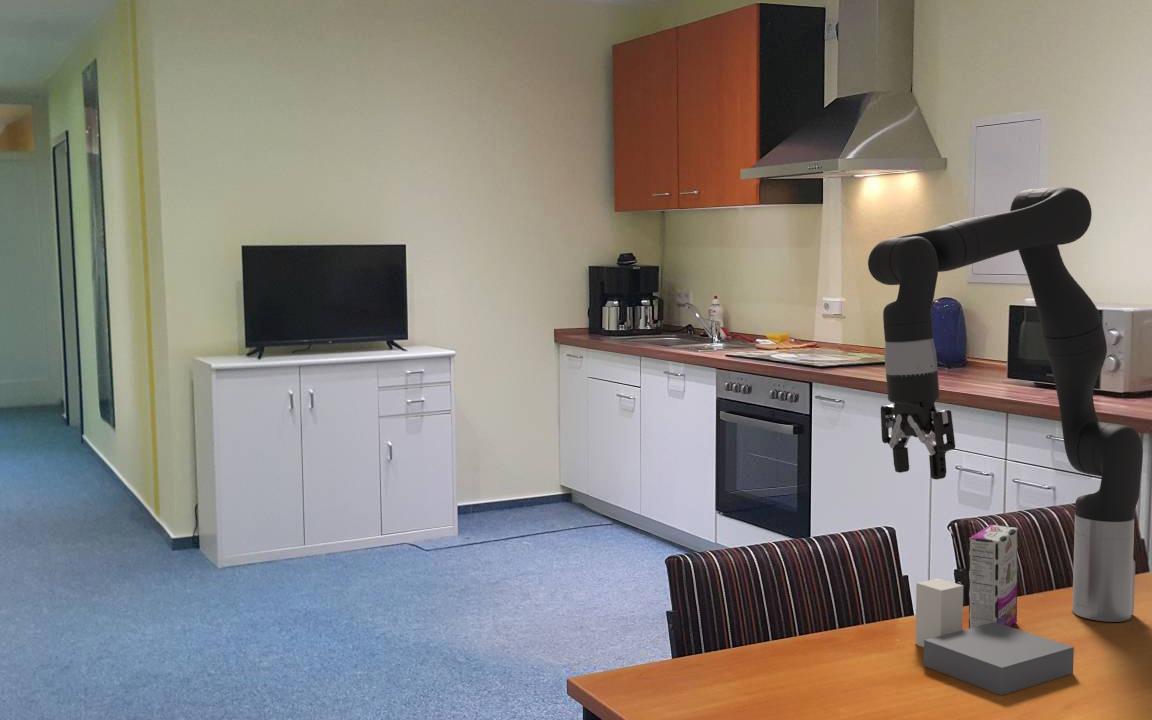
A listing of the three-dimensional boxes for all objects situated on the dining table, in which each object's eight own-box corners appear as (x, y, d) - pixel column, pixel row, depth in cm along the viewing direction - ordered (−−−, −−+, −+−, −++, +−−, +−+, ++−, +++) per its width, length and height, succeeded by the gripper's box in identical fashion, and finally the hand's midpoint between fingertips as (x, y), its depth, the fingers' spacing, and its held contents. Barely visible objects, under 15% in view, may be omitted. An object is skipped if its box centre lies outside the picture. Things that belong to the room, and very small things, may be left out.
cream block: (937, 638, 182) (938, 578, 181) (962, 647, 178) (963, 585, 177) (915, 644, 179) (916, 582, 179) (940, 653, 175) (941, 590, 174)
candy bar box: (987, 617, 193) (989, 523, 191) (1017, 623, 190) (1019, 527, 188) (965, 635, 184) (967, 536, 182) (997, 640, 181) (999, 540, 179)
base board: (994, 646, 178) (994, 621, 178) (1073, 673, 166) (1073, 647, 166) (923, 665, 170) (924, 639, 169) (1001, 695, 158) (1001, 667, 157)
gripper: (963, 368, 165) (971, 477, 166) (902, 365, 178) (910, 465, 179) (921, 374, 162) (930, 485, 163) (862, 370, 175) (871, 473, 176)
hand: (919, 475), depth 171 cm, fingers open, 8 cm apart
